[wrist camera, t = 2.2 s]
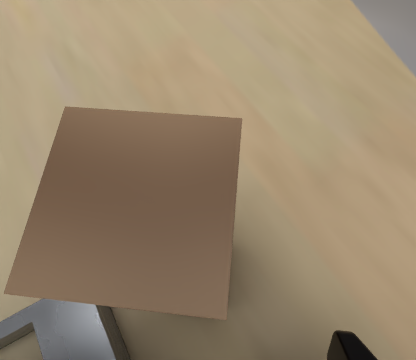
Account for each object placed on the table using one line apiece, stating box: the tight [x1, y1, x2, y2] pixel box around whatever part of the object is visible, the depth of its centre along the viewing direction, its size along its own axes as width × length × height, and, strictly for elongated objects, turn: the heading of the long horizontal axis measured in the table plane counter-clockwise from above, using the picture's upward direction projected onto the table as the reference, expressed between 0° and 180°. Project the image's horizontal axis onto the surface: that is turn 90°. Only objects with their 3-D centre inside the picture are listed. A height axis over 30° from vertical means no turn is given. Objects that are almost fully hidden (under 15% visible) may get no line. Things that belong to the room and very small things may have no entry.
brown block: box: [4, 107, 242, 320], centre depth 12 cm, size 4×4×13 cm
